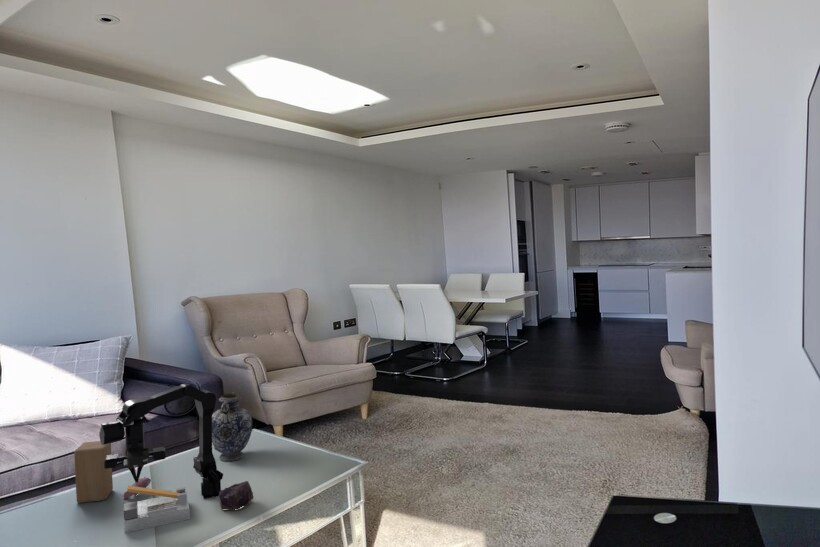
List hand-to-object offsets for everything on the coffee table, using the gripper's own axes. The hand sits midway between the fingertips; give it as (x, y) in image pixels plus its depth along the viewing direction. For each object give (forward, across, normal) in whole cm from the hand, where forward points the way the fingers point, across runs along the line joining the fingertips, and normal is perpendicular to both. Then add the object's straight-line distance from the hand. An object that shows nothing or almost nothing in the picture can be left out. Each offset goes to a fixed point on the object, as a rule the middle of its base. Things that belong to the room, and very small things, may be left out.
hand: (136, 481), depth 192 cm
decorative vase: (+13, +37, +44) cm, 59 cm away
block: (+13, -15, +27) cm, 34 cm away
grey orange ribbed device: (+13, +6, -2) cm, 14 cm away
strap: (+6, +6, 0) cm, 8 cm away
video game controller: (+13, 0, +22) cm, 26 cm away
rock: (+13, +32, -8) cm, 36 cm away
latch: (+9, -2, -6) cm, 11 cm away
